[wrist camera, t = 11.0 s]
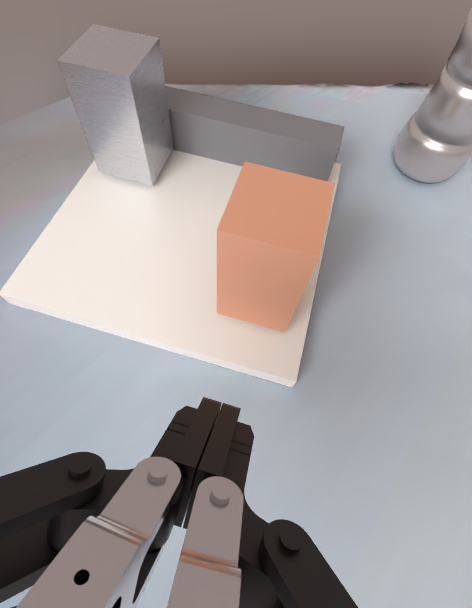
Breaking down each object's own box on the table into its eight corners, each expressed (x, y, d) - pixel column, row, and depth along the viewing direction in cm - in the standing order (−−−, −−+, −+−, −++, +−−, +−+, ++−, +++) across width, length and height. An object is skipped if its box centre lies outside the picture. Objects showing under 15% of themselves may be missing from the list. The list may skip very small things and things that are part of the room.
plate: (292, 387, 24) (310, 362, 19) (9, 303, 26) (-39, 261, 21) (336, 176, 34) (356, 125, 29) (130, 127, 36) (117, 71, 31)
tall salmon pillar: (285, 332, 24) (319, 257, 16) (216, 313, 24) (216, 229, 16) (299, 274, 26) (335, 183, 18) (236, 258, 27) (244, 161, 19)
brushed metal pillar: (152, 185, 30) (129, 76, 22) (98, 172, 30) (57, 60, 22) (173, 149, 32) (159, 37, 24) (123, 136, 32) (93, 23, 24)
